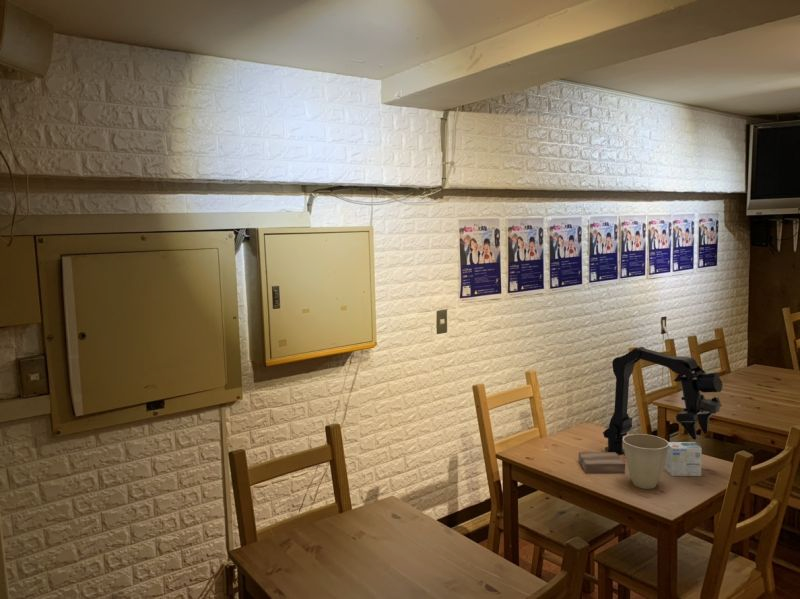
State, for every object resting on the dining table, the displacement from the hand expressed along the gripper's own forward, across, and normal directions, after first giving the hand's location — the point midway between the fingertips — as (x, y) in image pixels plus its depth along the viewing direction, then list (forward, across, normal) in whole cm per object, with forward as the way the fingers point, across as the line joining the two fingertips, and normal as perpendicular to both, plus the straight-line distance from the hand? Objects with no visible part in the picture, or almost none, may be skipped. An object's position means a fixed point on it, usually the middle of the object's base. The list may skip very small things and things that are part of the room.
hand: (700, 436), depth 216 cm
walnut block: (+9, -16, +32) cm, 37 cm away
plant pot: (+13, -19, +14) cm, 27 cm away
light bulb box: (+14, 0, +9) cm, 17 cm away
